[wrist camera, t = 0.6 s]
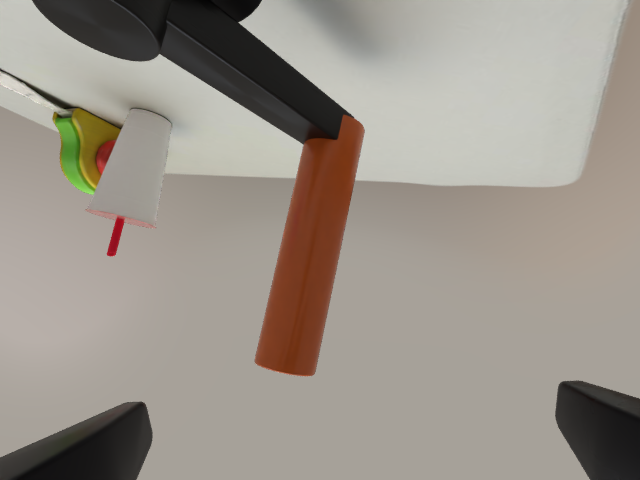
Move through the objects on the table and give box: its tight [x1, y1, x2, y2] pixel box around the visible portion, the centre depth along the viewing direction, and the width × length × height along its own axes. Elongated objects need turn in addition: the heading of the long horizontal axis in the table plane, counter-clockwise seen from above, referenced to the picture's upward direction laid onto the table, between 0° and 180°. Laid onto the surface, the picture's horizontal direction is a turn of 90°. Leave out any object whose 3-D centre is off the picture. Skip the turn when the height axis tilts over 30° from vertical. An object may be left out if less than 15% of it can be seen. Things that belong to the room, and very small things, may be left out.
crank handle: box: [32, 0, 365, 376], centre depth 14 cm, size 13×3×12 cm, turn 41°
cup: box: [86, 109, 172, 256], centre depth 33 cm, size 5×5×12 cm
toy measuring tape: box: [0, 71, 121, 195], centre depth 36 cm, size 6×20×7 cm, turn 28°
